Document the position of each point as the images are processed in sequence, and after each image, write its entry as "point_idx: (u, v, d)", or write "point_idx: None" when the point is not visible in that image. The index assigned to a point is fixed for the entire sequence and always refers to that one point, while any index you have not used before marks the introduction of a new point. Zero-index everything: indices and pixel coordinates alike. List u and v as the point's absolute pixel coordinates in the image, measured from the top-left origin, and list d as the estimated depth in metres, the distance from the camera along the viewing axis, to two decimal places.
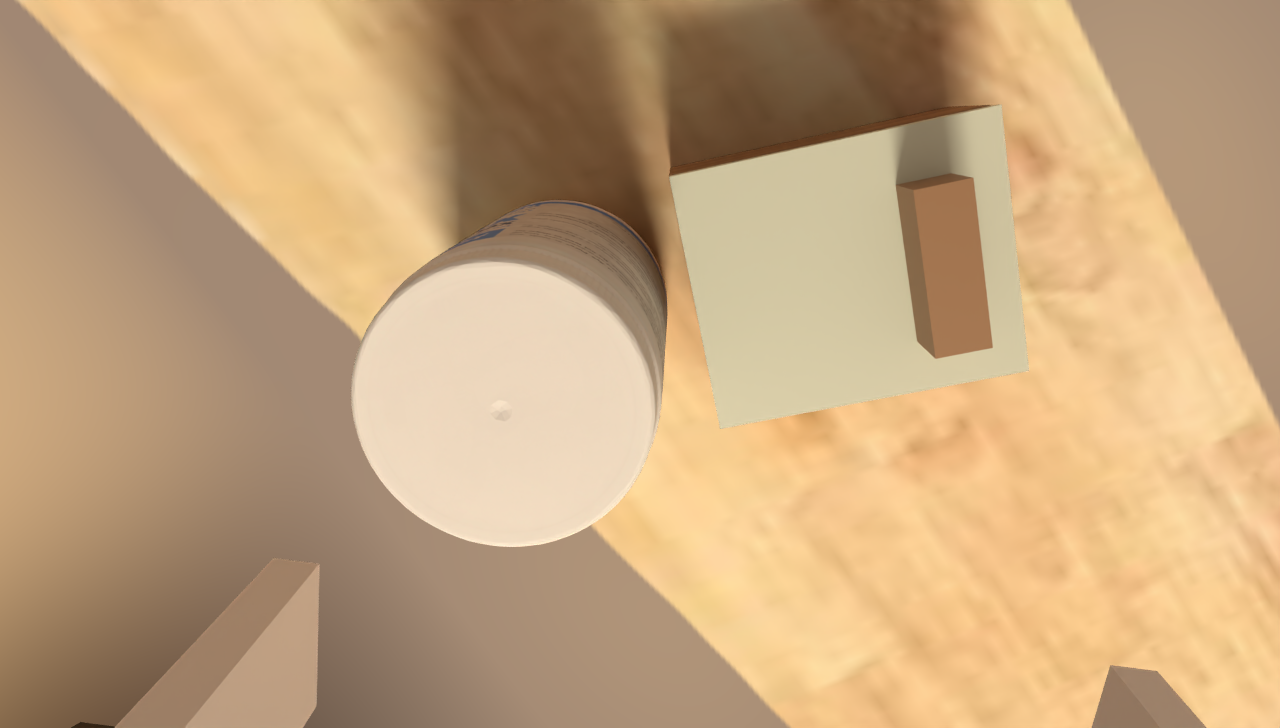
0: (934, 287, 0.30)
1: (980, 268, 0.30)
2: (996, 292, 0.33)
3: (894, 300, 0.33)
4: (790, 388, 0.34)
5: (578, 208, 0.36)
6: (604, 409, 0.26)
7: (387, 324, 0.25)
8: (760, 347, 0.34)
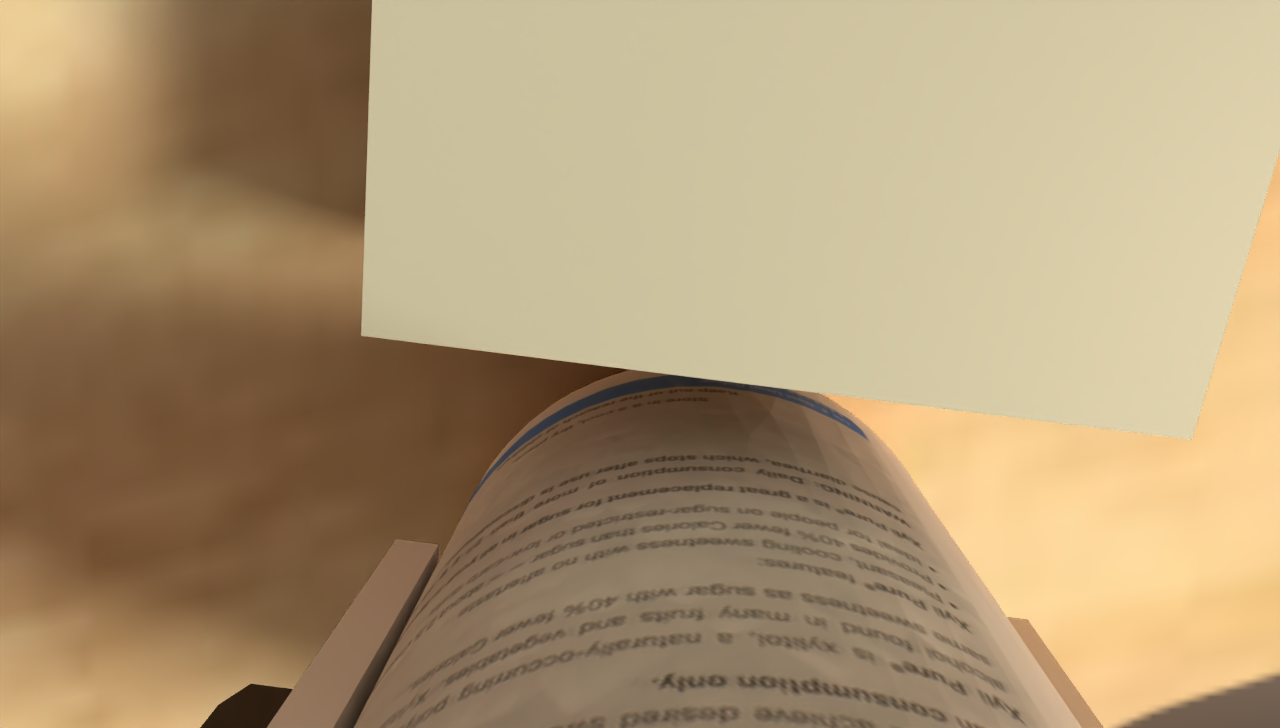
0: None
1: None
2: None
3: None
4: (1168, 173, 0.10)
5: (458, 525, 0.14)
6: None
7: None
8: (983, 229, 0.10)
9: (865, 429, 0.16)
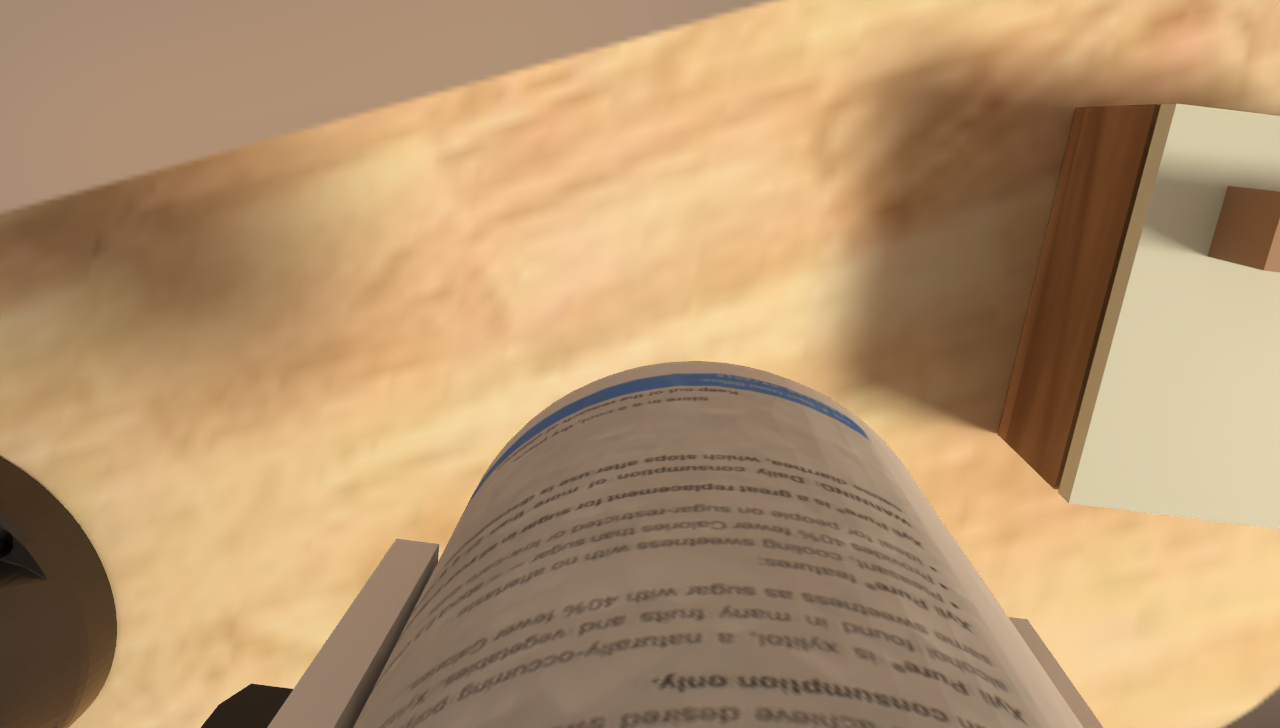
0: None
1: None
2: None
3: None
4: None
5: (457, 525, 0.14)
6: None
7: None
8: None
9: (865, 428, 0.16)
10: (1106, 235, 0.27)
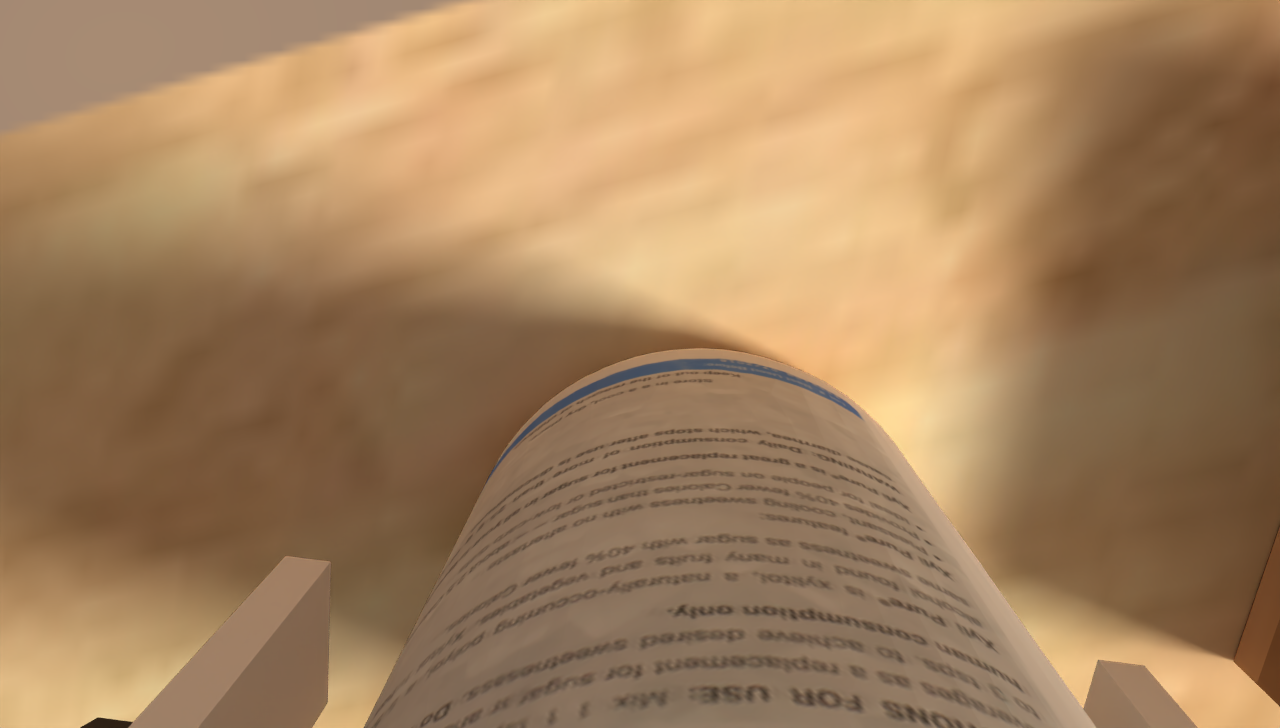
0: None
1: None
2: None
3: None
4: None
5: (478, 500, 0.15)
6: None
7: None
8: None
9: (860, 411, 0.17)
10: None
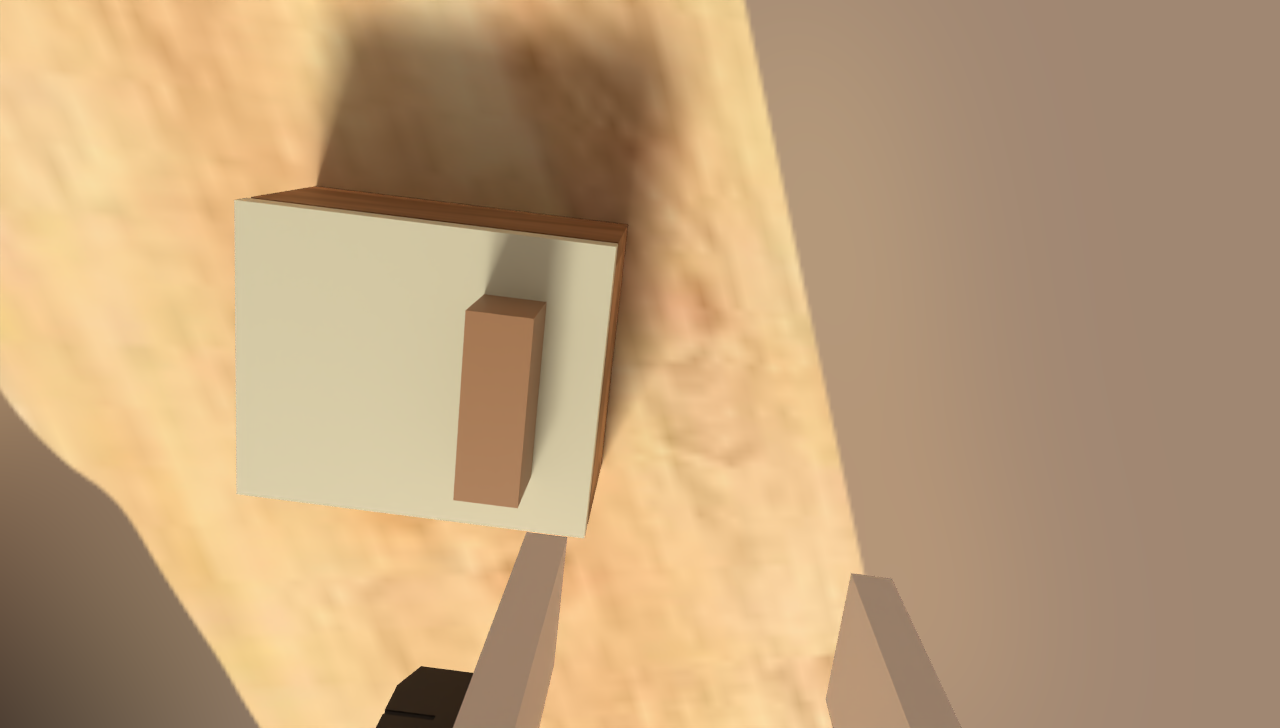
0: (467, 423, 0.26)
1: (521, 419, 0.26)
2: (567, 444, 0.29)
3: (456, 417, 0.29)
4: (323, 475, 0.30)
5: None
6: None
7: None
8: (299, 420, 0.29)
9: None
10: (504, 224, 0.29)
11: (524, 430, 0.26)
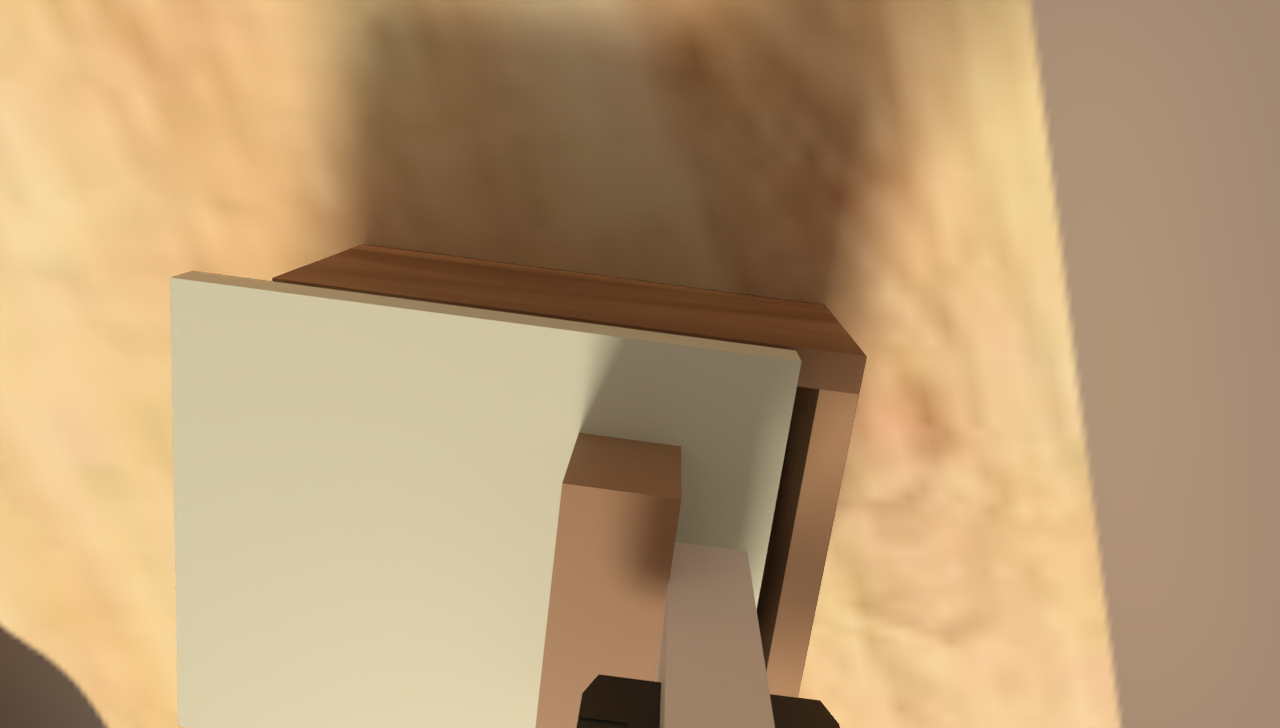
0: (558, 664, 0.15)
1: (650, 660, 0.15)
2: None
3: (527, 620, 0.18)
4: (314, 701, 0.19)
5: None
6: None
7: None
8: (276, 620, 0.18)
9: None
10: (674, 321, 0.18)
11: (654, 676, 0.16)
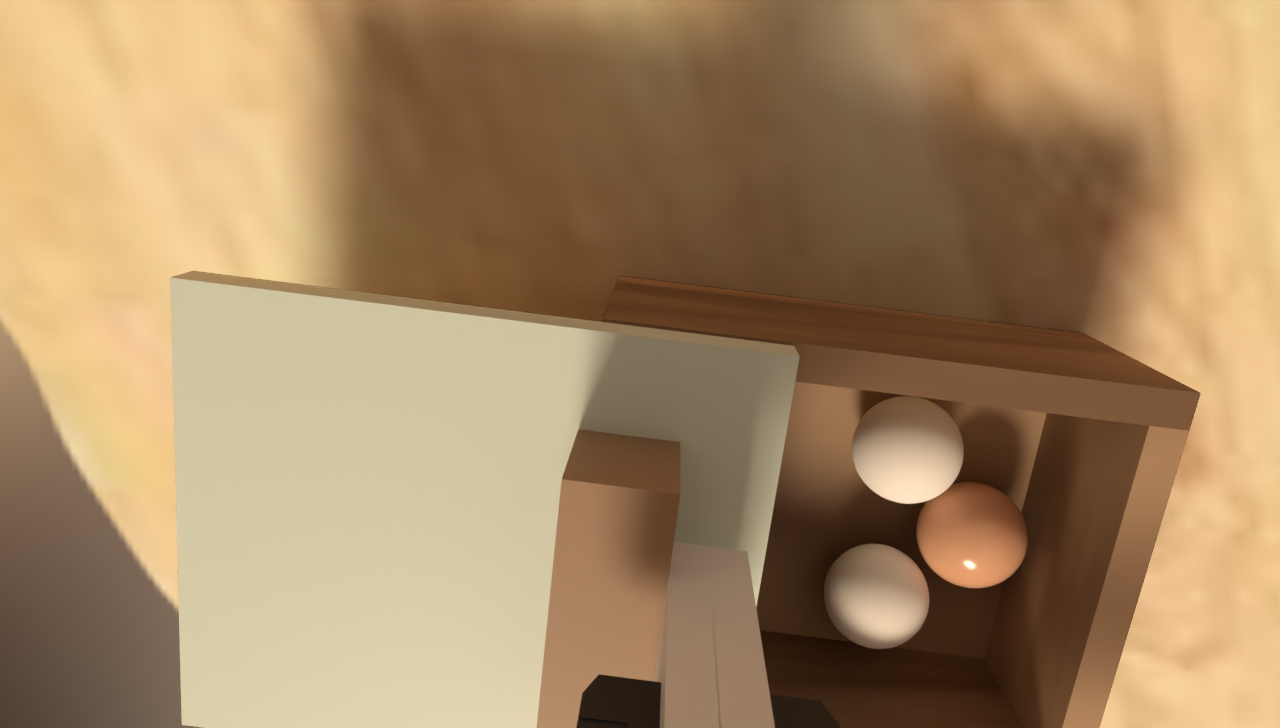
0: (559, 659, 0.16)
1: (651, 655, 0.15)
2: None
3: (528, 616, 0.18)
4: (317, 699, 0.19)
5: None
6: None
7: None
8: (279, 618, 0.18)
9: None
10: (991, 357, 0.18)
11: (654, 671, 0.16)
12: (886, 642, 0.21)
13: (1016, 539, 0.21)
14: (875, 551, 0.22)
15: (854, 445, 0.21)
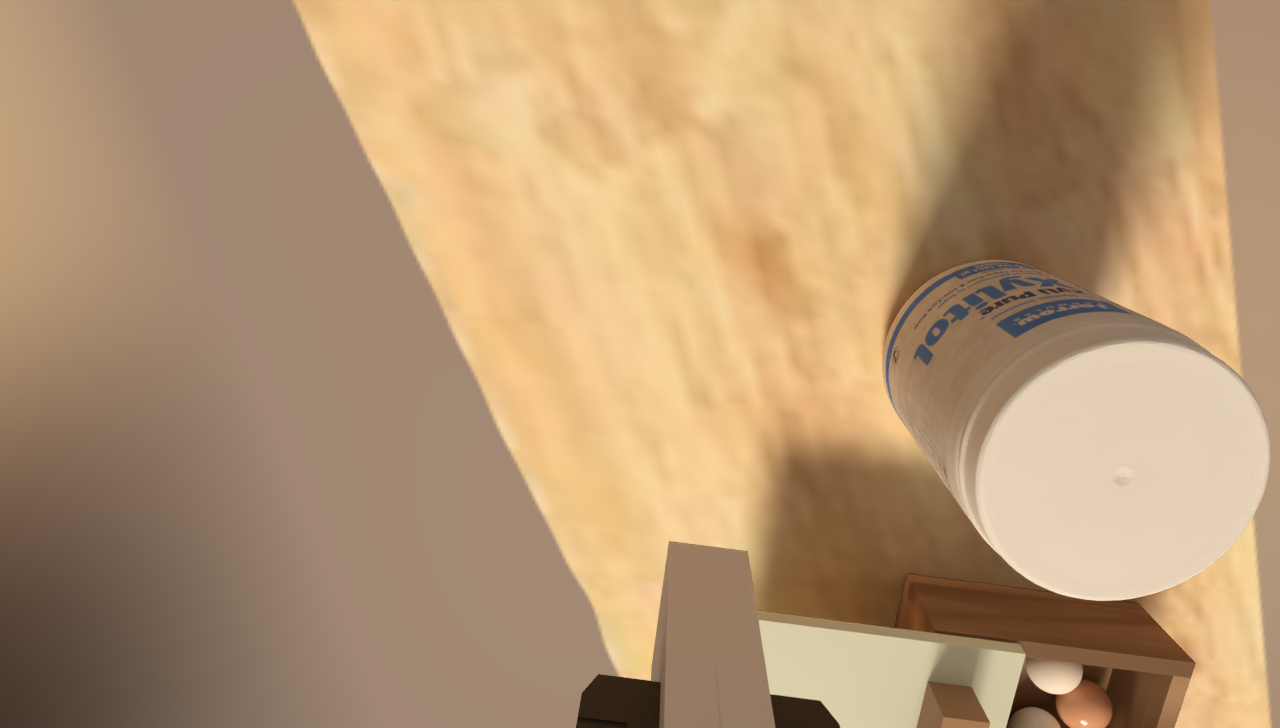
0: None
1: None
2: None
3: None
4: None
5: None
6: (1212, 503, 0.28)
7: (1066, 371, 0.27)
8: None
9: None
10: (1102, 641, 0.41)
11: None
12: None
13: (1108, 712, 0.43)
14: (1036, 713, 0.45)
15: (1028, 664, 0.44)
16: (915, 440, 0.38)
